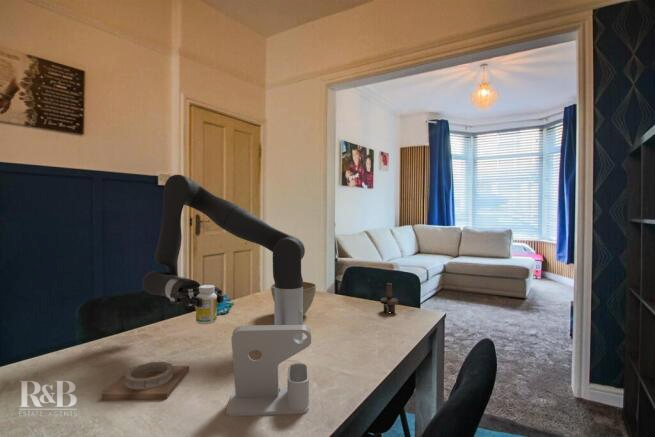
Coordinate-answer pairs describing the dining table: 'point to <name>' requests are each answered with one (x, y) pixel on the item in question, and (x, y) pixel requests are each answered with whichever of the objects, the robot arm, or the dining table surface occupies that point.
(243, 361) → the white tool holder stand
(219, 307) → the blue spiky rounded piece
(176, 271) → the robot arm
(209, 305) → the supplement bottle
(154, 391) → the walnut board
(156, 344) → the dining table surface
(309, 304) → the flower pot
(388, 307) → the industrial component
